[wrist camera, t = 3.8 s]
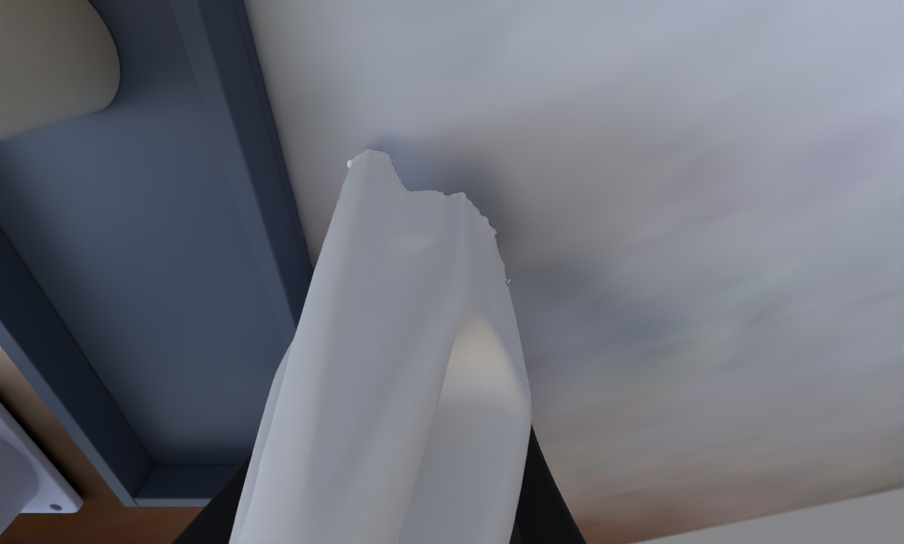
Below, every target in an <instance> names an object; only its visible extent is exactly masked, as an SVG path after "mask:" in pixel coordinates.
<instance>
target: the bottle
mask: <svg viewBox="0 0 904 544" xmlns="http://www.w3.org/2000/svg"><path fill="white" fill-rule="evenodd" d="M119 82H120V61H119V56H118V52H117V49H116V46H115V43H114V40H113V38H112V36H111V33H110V31H109V29H108V28H107V26H106V24H105V22H104V21H103V19H102V18H101V16H100V15H99V13H98V12H97V10H96V9H95V8H94V7H93V6H92V4H91V3H90V2H89V1H88V0H0V142H1V141H5V140H8V139H11V138H15V137H18V136H22V135H25V134H28V133H32V132H35V131H38V130H42V129H45V128H48V127H52V126H55V125H59V124H62V123H65V122H69V121H72V120H75V119H79V118H82V117H86V116H89V115H92V114H96V113H98V112H100V111H102V110H103V109H104V108H106V107H107V106H108V105H109V104H110V103H111V101H112V100H113V98H114V97H115V95H116V93H117V90H118V87H119Z"/></svg>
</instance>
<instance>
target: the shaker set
mask: <svg viewBox="0 0 904 544" xmlns="http://www.w3.org/2000/svg"><path fill="white" fill-rule="evenodd" d="M347 166H348V167H349V171H348V173H347V176H346V179H345V181H344V184H343V187H342V190H341V193H340V196H339V199H338V202H337V205H336V208H335V211H334V214H333V216H332V219H331V222H330V226H329V229H328V232H327V235H326V237H325V240H324V243H323V246H322V250H321V253H320V256H319V259H318V262H317V265H316V268H315V271H314V274H313V277H312V281H311V284H310V287H309V291H308V294H307V297H306V301H305V304H304V308H303V311H302V314H301V318H300V321H299V324H298V328H297V331H296V334H295V337H294V340H293V341H292V343H291V344H290V346H289V348H288V350H287V352H286V354H285V356H284V358H283V359H282V361H281V363H280V365H279V367H278V370H277V372H276V374H275V377H274V380H273V383H272V386H271V389H270V393H269V396H268V399H267V403H266V406H265V410H264V414H263V417H262V420H261V424H260V428H259V431H258V435H257V438H256V442H255V445H254V449H253V454H252V458H251V461H250V465H249V468H248V472H247V475H246V479H245V483H244V487H243V490H242V494H241V498H240V501H239V505H238V509H237V513H236V517H235V522H234V526H233V530H232V534H231V537H230V541H229V544H509V542H510V538H511V534H512V529H513V525H514V520H515V515H516V510H517V505H518V501H519V496H520V491H521V486H522V479H523V473H524V467H525V462H526V456H527V449H528V443H529V436H530V430H531V419H532V402H531V393H530V386H529V381H528V376H527V371H526V366H525V361H524V356H523V350H522V346H521V341H520V336H519V331H518V326H517V322H516V317H515V312H514V308H513V304H512V300H511V296H510V292H509V288H508V283H509V282H510V281H511V280H510V279H509V280H508V281H507V279H506V276H505V265H504V264H503V261H502V259H501V257H500V253H499V251H498V246H497V244H496V243H497V242H496V238H495V237H494V235H496V234H497V232H496V230H495V229H494V228H492V227H491V226H490V225H489V221H488V219H487V217H486V216H482V217H481V214H479V213H480V211H479V210H478V208H475V206H474V205H472V202H471V201H470V200H469V199H466V194H465V193H463V192H461V193H456V194H455V193H454V192H453V194H452V195H448V196H446V195H444V194H443V191H442V192H438V191H437V190H432V191H431V190H426V191H417V192H416V191H413V192H411V191H408V190H407V189H406V188H405V187H404V186H403V185H402V182H401V180H400V179H399V177H398V176H397V174H396V171H395V169H394V168H393V163H392V162H391V160H390V156H388V155H386V153H384V152H382V151H376V150H370V149H366V150H365V151H364V153H363V154H358V155H357V156H355V158H354V159H350V160H349V161H348V163H347ZM474 208H475V209H474ZM507 282H508V283H507Z"/></svg>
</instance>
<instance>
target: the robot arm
mask: <svg viewBox="0 0 904 544" xmlns="http://www.w3.org/2000/svg"><path fill="white" fill-rule="evenodd" d="M252 454H253V451H252V453H251V454H250V455H249V456H248V457H247V459H246V460H245V461H244V462H243V463H242V465H241V466H240V467H239V468H238V469H237V471H236V472H235V473H234V474H233V475H232V477H231V478H230V479H229V480H228V481H227V482H226V483H225V485H224V486H223V487H222V488H221V489H220V490H219V492H218V493H217V494H216V495H215V496H214V497H213V498H212V500H211V501H210V502H209V503H208V504H207V505H206V507H205V508H204V509H203V510H202V511H201V512H200V513H199V514H198V516H197V517H196V518H195V519H194V520H193V521H192V522H191V523H190V524H189V525H188V526H187V527H186V528H185V530H184V531H183V532H182V533H181V534H180V535H179V536H178V537H177V538H176V539H175V540H174V541H173V542H172V544H229V541H230V537H231V534H232V530H233V526H234V522H235V517H236V513H237V509H238V505H239V501H240V498H241V494H242V490H243V487H244V483H245V479H246V475H247V472H248V468H249V465H250V461H251V458H252ZM83 503H84V502H83V500H82V498H81V497H80V496H79V495H78V494H77V492H76V491H75V490H74V489H73V488H72V486H71V485H70V484H69V483H68V482H67V481H66V479H65V478H64V477H63V476H62V475H61V473H60V472H59V471H58V470H57V469H56V468H55V466H54V465H53V464H52V463H51V462H50V460H49V459H48V458H47V457H46V456H45V455H44V453H43V452H42V451H41V450H40V449H39V447H38V446H37V445H36V444H35V443H34V442H33V440H32V439H31V438H30V437H29V436H28V434H27V433H26V432H25V431H24V430H23V429H22V427H21V426H20V425H19V424H18V423H17V421H16V420H15V419H14V418H13V417H12V416H11V414H10V413H9V412H8V411H7V410H6V408H5V407H4V406H3V405H2V404H1V403H0V535H1V533H2V532H3V531H4V530H5V529H6V528H7V527H8V526H9V524H10V523H11V522H12V521H13V520H14V519H15V518H16V516H17V515H18V514H19V513H74V512H77V511H78V510H79V509H80V508H81V506H82V505H83ZM509 544H586V542H585V540H584V538H583V536H582V535H581V533H580V531H579V529H578V527H577V525H576V523H575V522H574V520H573V518H572V516H571V514H570V512H569V510H568V508H567V506H566V504H565V502H564V500H563V498H562V496H561V494H560V492H559V490H558V488H557V486H556V484H555V481H554V479H553V477H552V475H551V473H550V470H549V468H548V466H547V463H546V461H545V459H544V456H543V454H542V452H541V449H540V447H539V444H538V441H537V438H536V436H535V433H534V430H533V427H532V423H531V430H530V436H529V443H528V449H527V456H526V462H525V467H524V473H523V479H522V486H521V491H520V496H519V501H518V505H517V510H516V515H515V520H514V525H513V529H512V534H511V538H510V542H509Z"/></svg>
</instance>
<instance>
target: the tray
mask: <svg viewBox="0 0 904 544" xmlns="http://www.w3.org/2000/svg"><path fill="white" fill-rule="evenodd" d="M88 1H89V2H90V3H91V4H92V6H93V7H94V8H95V9H96V10H97V12H98V13H99V15H100V16H101V18H102V19H103V21H104V22H105V24H106V26H107V28H108V29H109V31H110V33H111V36H112V38H113V40H114V43H115V46H116V49H117V52H118V56H119V61H120V82H119V87H118V90H117V93H116V95H115V97H114V98H113V100H112V101H111V103H110V104H109V105H108V106H107V107H106V108H104V109H103V110H102V111H100V112H98V113H96V114H92V115H89V116H86V117H82V118H79V119H75V120H72V121H69V122H65V123H62V124H59V125H55V126H52V127H48V128H45V129H42V130H38V131H35V132H32V133H28V134H25V135H22V136H18V137H15V138H11V139H8V140H5V141H1V142H0V346H1V347H2V348H3V349H4V351H5V352H6V353H7V355H8V356H9V357H10V359H11V360H12V361H13V362H14V364H15V365H16V366H17V368H18V369H19V370H20V372H21V373H22V374H23V375H24V377H25V378H26V379H27V381H28V382H29V383H30V384H31V386H32V387H33V388H34V390H35V391H36V392H37V394H38V395H39V396H40V397H41V399H42V400H43V401H44V403H45V404H46V405H47V407H48V408H49V409H50V410H51V412H52V413H53V414H54V416H55V417H56V418H57V419H58V421H59V422H60V423H61V425H62V426H63V427H64V429H65V430H66V431H67V432H68V434H69V435H70V436H71V438H72V439H73V440H74V442H75V443H76V444H77V445H78V447H79V448H80V449H81V451H82V452H83V453H84V454H85V456H86V457H87V458H88V460H89V461H90V462H91V464H92V465H93V466H94V467H95V469H96V470H97V471H98V473H99V474H100V475H101V477H102V478H103V479H104V480H105V482H106V483H107V484H108V486H109V487H110V488H111V489H112V491H113V492H114V493H115V495H116V496H117V497H118V499H119V500H120V501H121V502H122V504H123V505H124V506H125V507H138V506H141V507H206V505H207V504H208V503H209V502H210V501H211V500H212V498H213V497H214V496H215V495H216V494H217V493H218V492H219V490H220V489H221V488H222V487H223V486H224V485H225V483H226V482H227V481H228V480H229V479H230V478H231V477H232V475H233V474H234V473H235V472H236V471H237V469H238V468H239V467H240V466H241V465H242V463H243V462H244V461H245V460H246V459H247V457H248V456H249V455H250V454H251V453H252V451H253V449H254V445H255V442H256V438H257V435H258V431H259V428H260V424H261V420H262V417H263V414H264V410H265V406H266V403H267V399H268V396H269V393H270V389H271V386H272V383H273V380H274V377H275V374H276V372H277V370H278V367H279V365H280V363H281V361H282V359H283V358H284V356H285V354H286V352H287V350H288V348H289V346H290V344H291V343H292V341H293V340H294V337H295V334H296V331H297V328H298V324H299V321H300V318H301V314H302V311H303V308H304V304H305V301H306V297H307V294H308V291H309V287H310V284H311V281H312V277H313V271H312V267H311V263H310V259H309V255H308V251H307V248H306V244H305V240H304V236H303V232H302V228H301V224H300V221H299V217H298V213H297V209H296V205H295V201H294V197H293V193H292V190H291V186H290V182H289V178H288V174H287V170H286V166H285V163H284V159H283V155H282V151H281V147H280V143H279V139H278V135H277V132H276V128H275V124H274V120H273V116H272V112H271V108H270V105H269V101H268V97H267V93H266V89H265V85H264V81H263V77H262V74H261V70H260V66H259V62H258V58H257V54H256V50H255V47H254V43H253V39H252V35H251V31H250V27H249V23H248V19H247V16H246V12H245V8H244V4H243V0H88Z"/></svg>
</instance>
